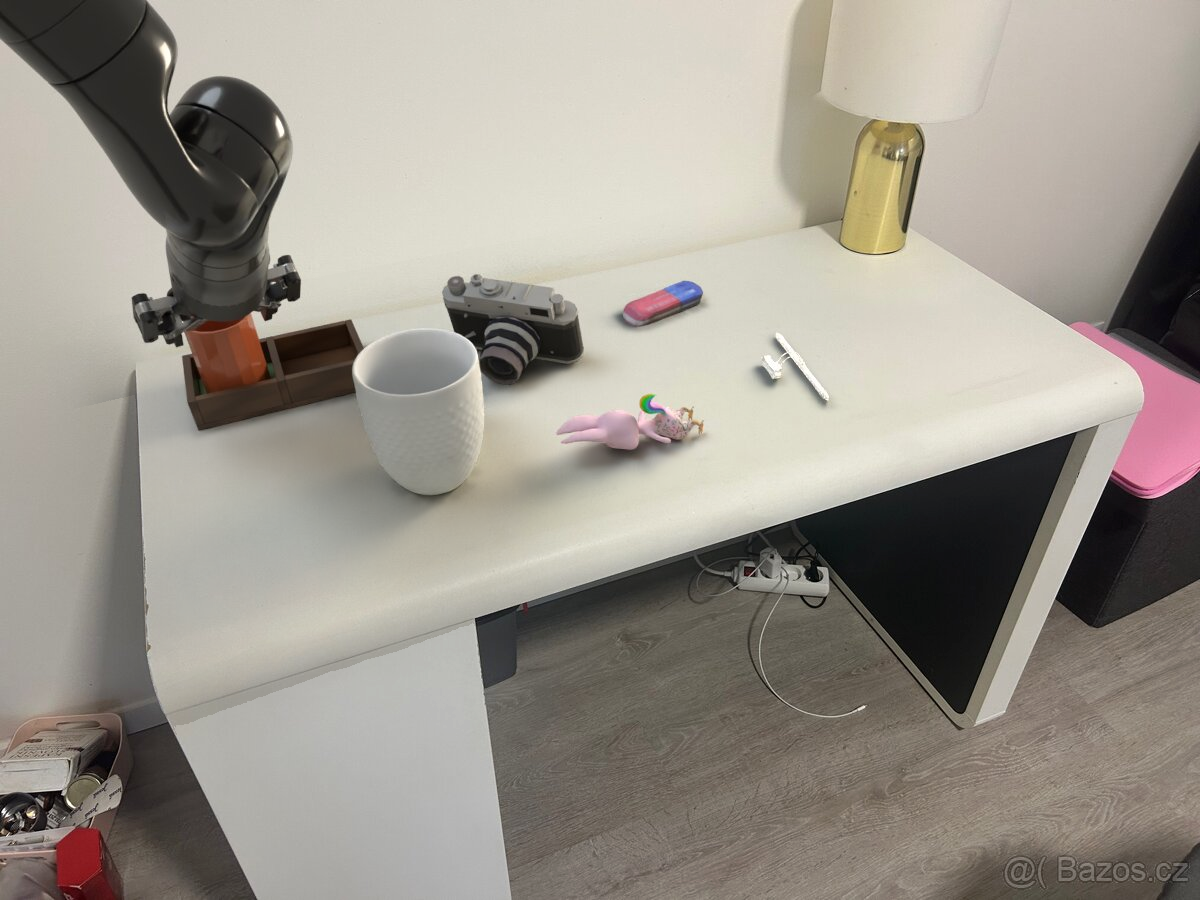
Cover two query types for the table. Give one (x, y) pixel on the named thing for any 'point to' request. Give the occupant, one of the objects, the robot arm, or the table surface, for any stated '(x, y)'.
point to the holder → (282, 375)
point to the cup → (228, 354)
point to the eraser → (662, 303)
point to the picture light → (775, 367)
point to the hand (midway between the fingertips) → (220, 324)
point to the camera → (513, 324)
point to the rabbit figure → (630, 426)
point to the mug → (422, 407)
